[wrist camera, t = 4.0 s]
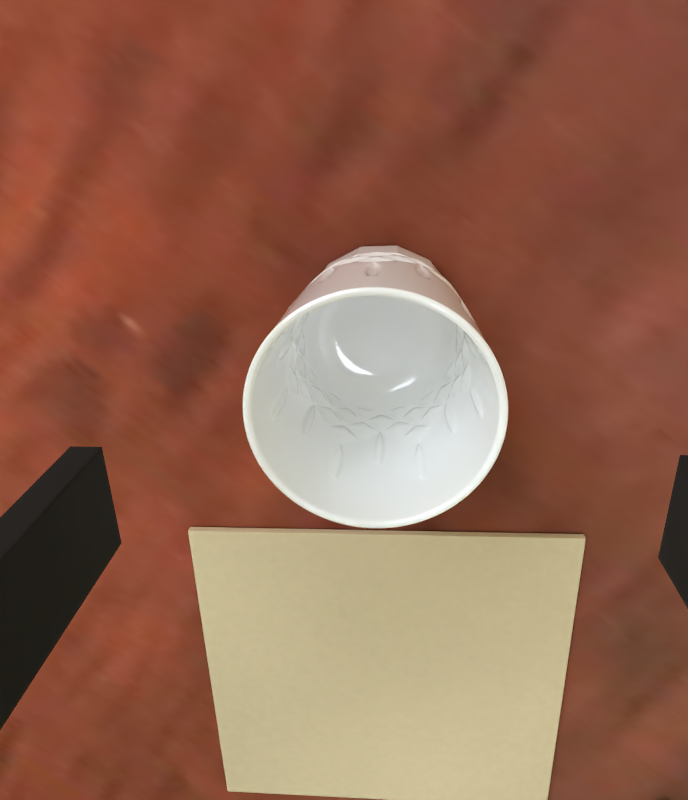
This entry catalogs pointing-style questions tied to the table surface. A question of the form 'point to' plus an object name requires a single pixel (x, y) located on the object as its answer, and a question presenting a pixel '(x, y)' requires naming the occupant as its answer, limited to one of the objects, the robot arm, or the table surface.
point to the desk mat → (387, 659)
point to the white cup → (376, 394)
